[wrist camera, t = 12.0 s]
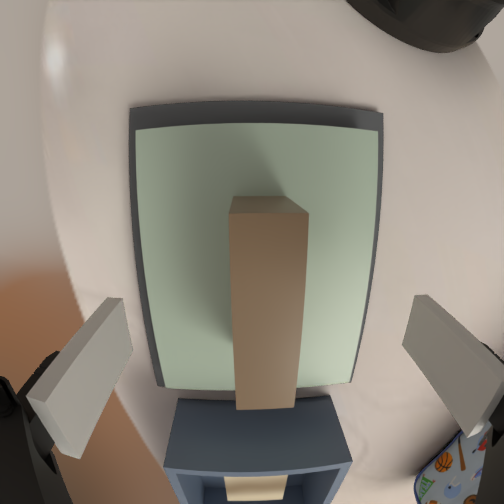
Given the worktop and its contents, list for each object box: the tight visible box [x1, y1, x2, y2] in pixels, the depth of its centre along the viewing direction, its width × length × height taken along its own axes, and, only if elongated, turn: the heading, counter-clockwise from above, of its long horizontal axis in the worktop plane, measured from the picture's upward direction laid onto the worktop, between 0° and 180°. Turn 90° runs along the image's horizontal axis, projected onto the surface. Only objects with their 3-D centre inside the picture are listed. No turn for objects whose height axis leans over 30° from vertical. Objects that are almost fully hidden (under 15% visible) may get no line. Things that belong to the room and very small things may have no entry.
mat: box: [129, 101, 383, 387], centre depth 20 cm, size 22×17×1 cm
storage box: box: [163, 395, 353, 504], centre depth 23 cm, size 18×14×8 cm
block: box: [224, 475, 288, 501], centre depth 24 cm, size 8×6×4 cm
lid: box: [136, 123, 378, 410], centre depth 16 cm, size 18×14×8 cm
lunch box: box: [414, 420, 491, 504], centre depth 20 cm, size 28×10×22 cm, turn 157°
